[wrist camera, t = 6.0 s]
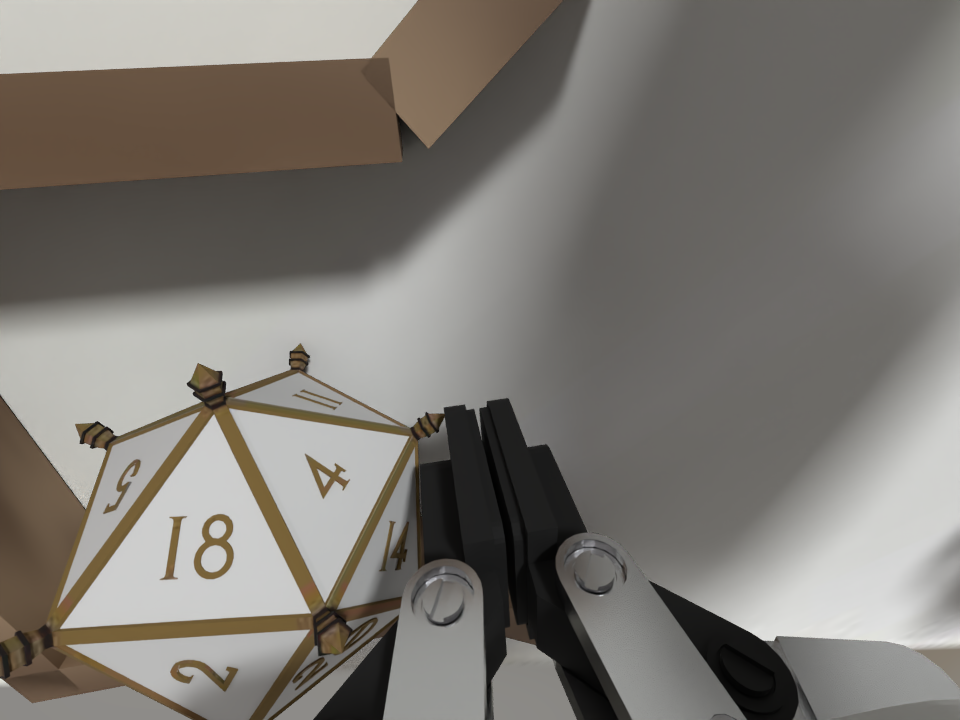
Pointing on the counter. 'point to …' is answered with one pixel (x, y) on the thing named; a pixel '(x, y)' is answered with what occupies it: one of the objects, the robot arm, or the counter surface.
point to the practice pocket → (213, 151)
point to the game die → (239, 546)
